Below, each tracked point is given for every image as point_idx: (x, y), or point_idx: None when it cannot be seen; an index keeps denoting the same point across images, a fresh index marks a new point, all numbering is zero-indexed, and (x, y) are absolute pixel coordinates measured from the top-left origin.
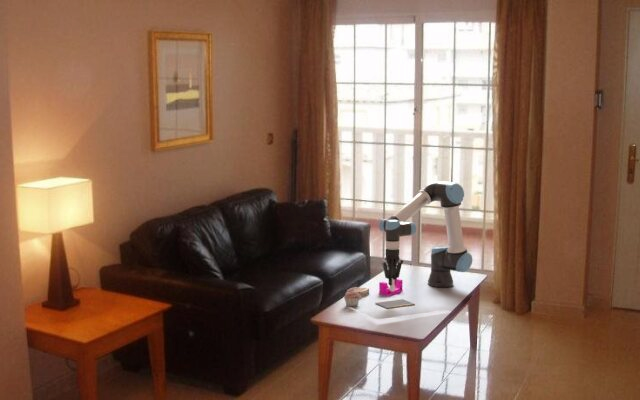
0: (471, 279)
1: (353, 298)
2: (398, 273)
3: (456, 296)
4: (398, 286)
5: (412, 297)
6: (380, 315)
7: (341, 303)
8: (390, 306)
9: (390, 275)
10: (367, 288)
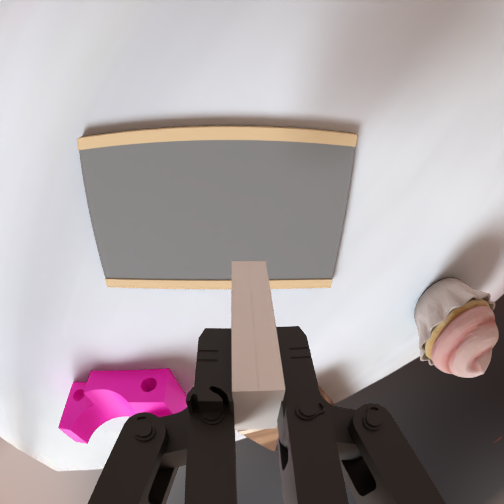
0: None
1: (484, 302)
2: (128, 486)
3: None
4: (84, 406)
5: (44, 302)
6: (476, 39)
7: None
8: (308, 150)
9: (340, 464)
10: (245, 433)
